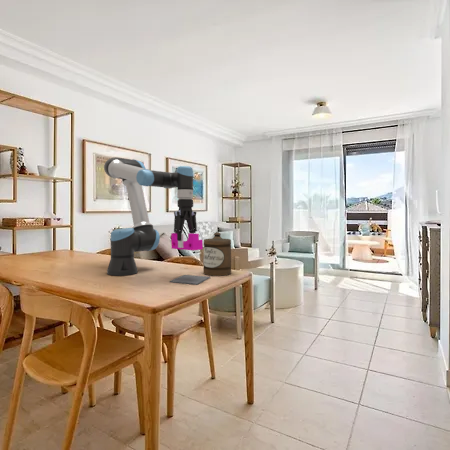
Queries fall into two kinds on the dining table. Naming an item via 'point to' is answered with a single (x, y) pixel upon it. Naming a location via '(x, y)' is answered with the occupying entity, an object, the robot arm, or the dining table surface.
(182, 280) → the mat
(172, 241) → the toy block
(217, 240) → the wooden container
